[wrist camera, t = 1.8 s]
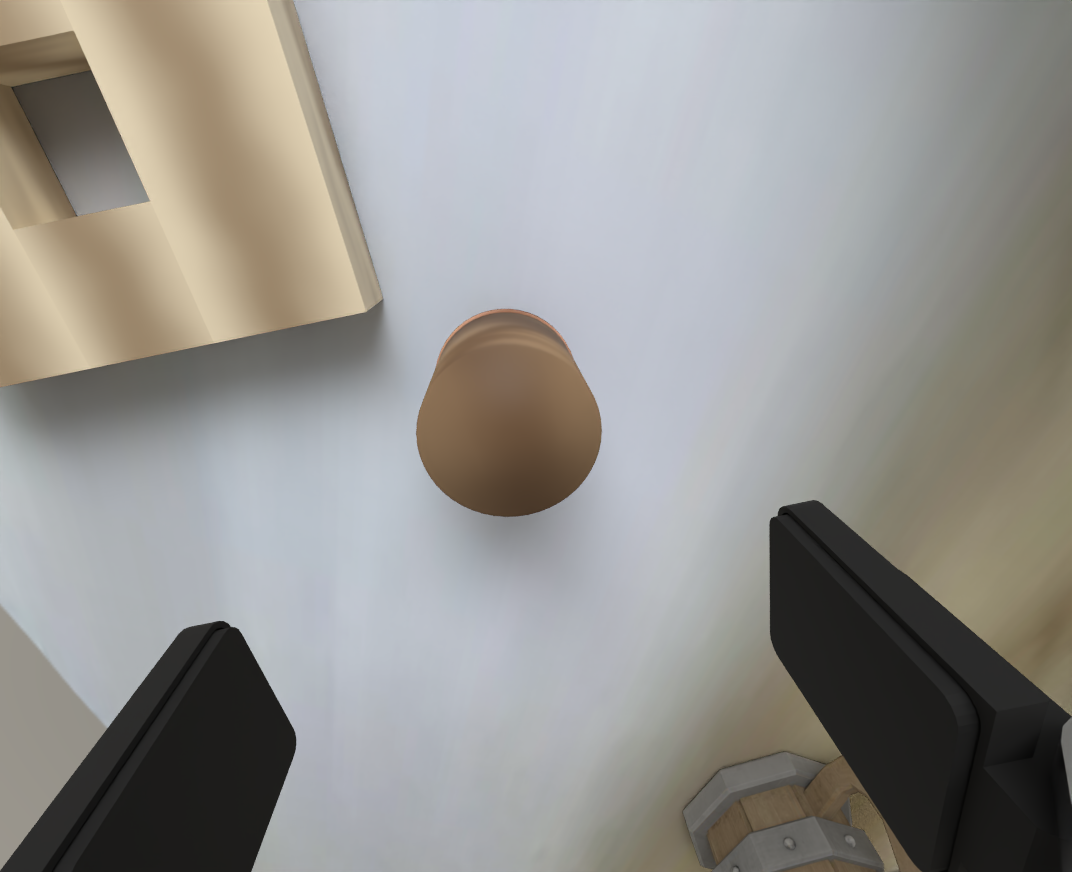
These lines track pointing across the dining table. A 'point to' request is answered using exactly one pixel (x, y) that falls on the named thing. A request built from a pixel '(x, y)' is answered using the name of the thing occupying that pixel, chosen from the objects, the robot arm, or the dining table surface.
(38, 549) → the dining table surface
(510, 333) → the peg
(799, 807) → the tankard
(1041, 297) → the dining table surface
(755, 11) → the dining table surface
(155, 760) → the robot arm
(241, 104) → the board
